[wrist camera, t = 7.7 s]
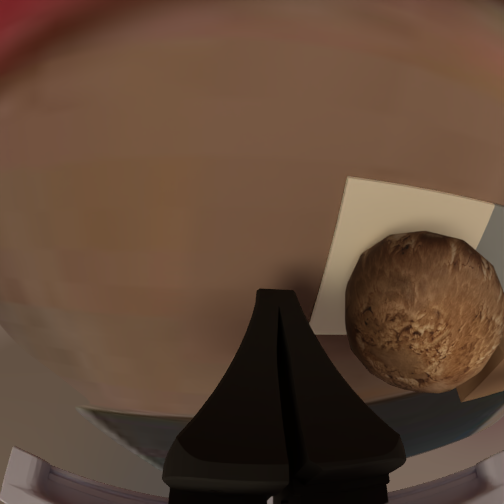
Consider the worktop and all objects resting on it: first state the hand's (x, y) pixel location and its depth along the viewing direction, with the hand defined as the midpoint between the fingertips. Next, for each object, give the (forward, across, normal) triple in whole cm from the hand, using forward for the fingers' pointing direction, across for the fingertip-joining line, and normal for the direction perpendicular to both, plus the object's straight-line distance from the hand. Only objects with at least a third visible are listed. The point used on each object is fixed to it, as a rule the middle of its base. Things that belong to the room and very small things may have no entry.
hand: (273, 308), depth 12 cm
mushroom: (+3, -6, 0) cm, 7 cm away
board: (+3, -14, 0) cm, 15 cm away
